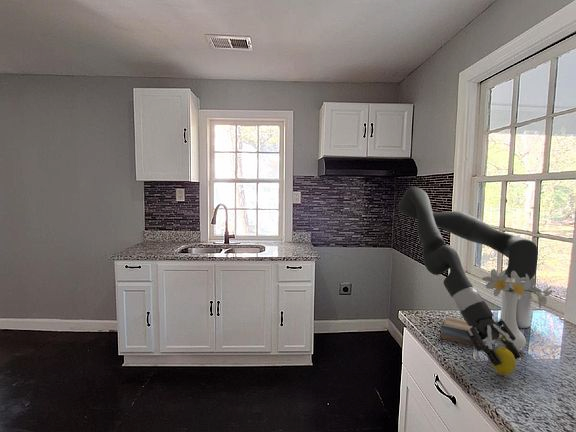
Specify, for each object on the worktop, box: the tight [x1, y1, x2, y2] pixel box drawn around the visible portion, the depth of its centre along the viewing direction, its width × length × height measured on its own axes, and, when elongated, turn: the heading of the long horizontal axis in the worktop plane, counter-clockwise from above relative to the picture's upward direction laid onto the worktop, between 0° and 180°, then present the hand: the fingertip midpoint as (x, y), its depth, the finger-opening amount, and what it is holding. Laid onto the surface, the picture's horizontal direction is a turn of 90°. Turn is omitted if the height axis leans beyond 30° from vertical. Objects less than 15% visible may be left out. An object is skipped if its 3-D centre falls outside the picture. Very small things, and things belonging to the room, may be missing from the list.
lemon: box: [491, 347, 516, 377], centre depth 91 cm, size 6×6×8 cm
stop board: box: [440, 316, 480, 346], centre depth 118 cm, size 18×12×4 cm, turn 150°
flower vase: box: [482, 268, 553, 352], centre depth 105 cm, size 13×18×25 cm
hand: (508, 361), depth 89 cm, fingers open, 8 cm apart
